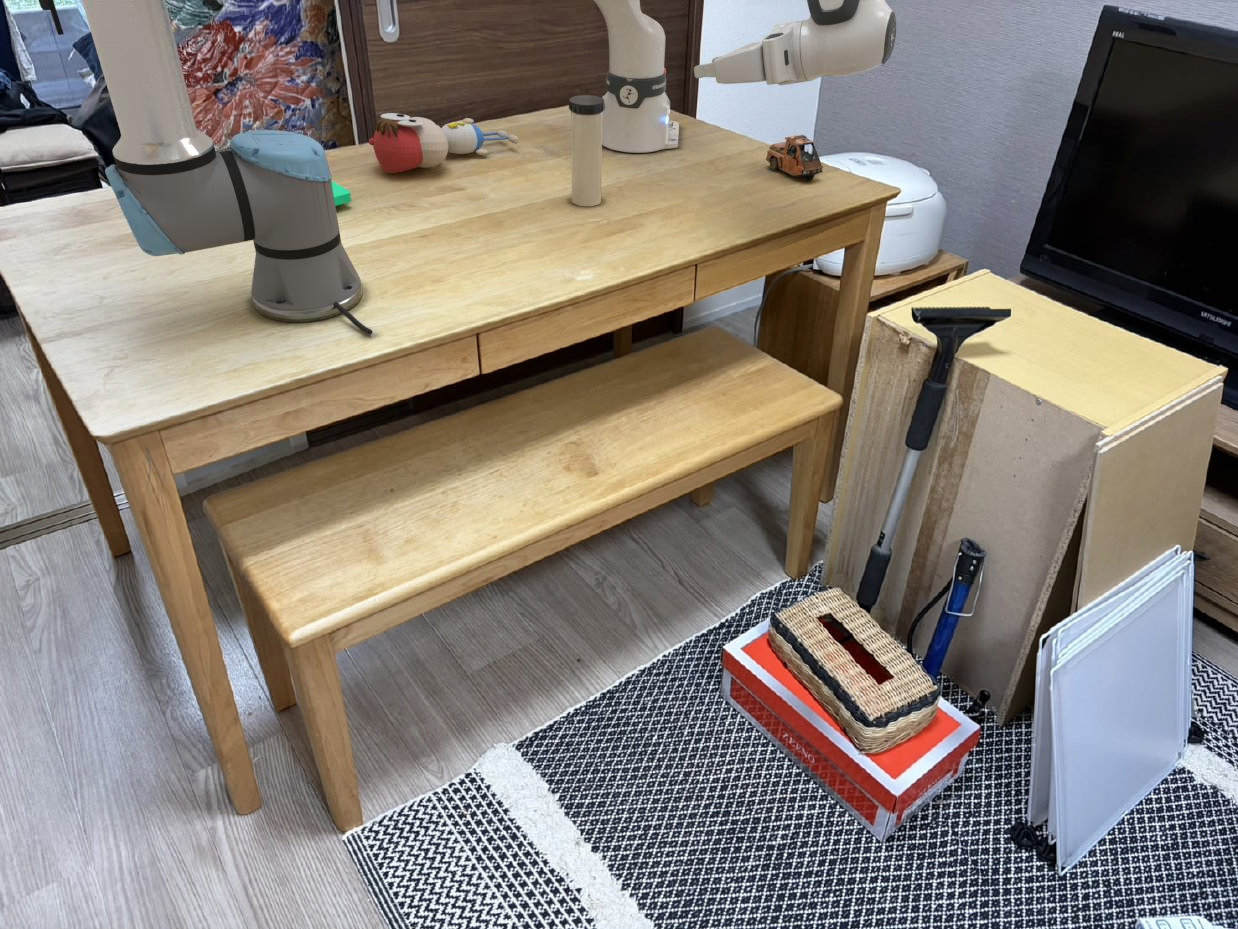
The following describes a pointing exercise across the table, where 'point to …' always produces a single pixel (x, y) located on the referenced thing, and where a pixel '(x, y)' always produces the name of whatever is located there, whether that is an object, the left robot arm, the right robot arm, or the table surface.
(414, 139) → the toy
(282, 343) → the table surface
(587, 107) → the lid
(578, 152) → the jar
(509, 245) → the table surface
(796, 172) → the toy car
